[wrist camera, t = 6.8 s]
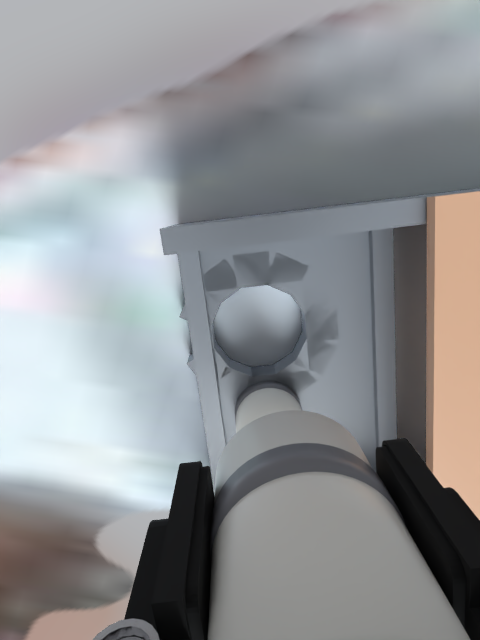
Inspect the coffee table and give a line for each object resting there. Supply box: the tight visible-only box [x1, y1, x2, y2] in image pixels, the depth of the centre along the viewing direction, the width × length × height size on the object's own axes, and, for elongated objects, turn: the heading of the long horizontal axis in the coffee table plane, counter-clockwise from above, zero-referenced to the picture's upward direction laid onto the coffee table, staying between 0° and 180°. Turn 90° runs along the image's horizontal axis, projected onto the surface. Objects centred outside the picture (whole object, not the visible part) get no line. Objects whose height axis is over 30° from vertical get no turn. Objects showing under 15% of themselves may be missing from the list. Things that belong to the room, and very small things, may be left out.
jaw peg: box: [208, 410, 471, 640], centre depth 8 cm, size 4×4×6 cm
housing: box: [160, 188, 480, 493], centre depth 25 cm, size 23×20×7 cm
